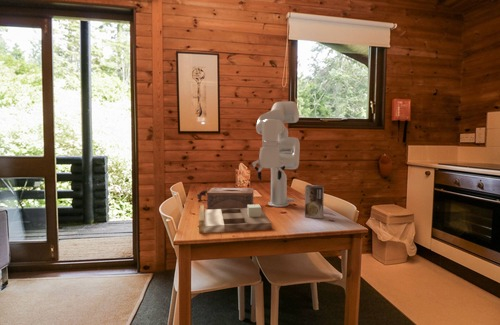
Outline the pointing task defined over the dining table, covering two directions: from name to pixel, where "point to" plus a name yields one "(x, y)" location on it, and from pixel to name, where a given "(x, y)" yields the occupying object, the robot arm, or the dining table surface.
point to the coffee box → (314, 201)
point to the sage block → (254, 210)
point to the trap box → (230, 220)
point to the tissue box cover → (229, 198)
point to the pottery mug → (202, 194)
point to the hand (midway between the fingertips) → (269, 179)
